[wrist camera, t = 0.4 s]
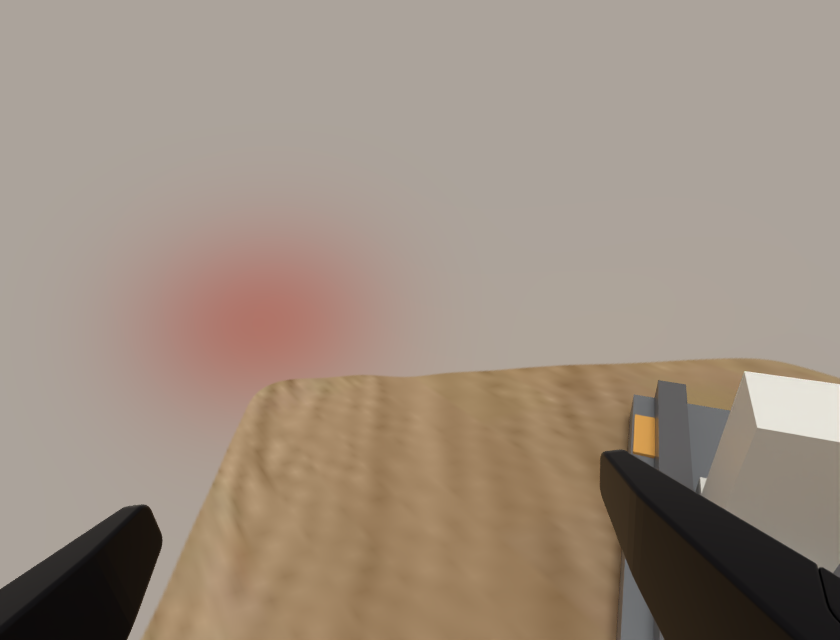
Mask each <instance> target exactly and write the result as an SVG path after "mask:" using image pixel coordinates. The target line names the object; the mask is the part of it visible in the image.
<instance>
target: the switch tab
mask: <svg viewBox="0 0 840 640" xmlns="http://www.w3.org/2000/svg"><path fill="white" fill-rule="evenodd" d="M695 492H696V493H698V494H700V495H702V496H703V497H705V498H707V499H708V500H710V501H712V502H713V503H715V504H717V505H718V506H720V507H722V508H724V509H725V510H727V511H729V512H730V513H732V514H734V515H735V516H737V517H739V518H740V519H742V520H744V521H745V522H747V523H749V524H751V525H752V526H754V527H756V528H757V529H759V530H761V531H762V532H764V533H766V534H767V535H769V536H771V537H773V538H774V539H776V540H778V541H779V542H781V543H783V544H784V545H786V546H788V547H789V548H791V549H793V550H795V551H796V552H798V553H800V554H801V555H803V556H805V557H806V558H808V559H810V560H811V561H813V562H815V563H816V564H817V565H818V568H819V567H824V568H825V569H827V570H829V571H830V572H832V573H833V572H834V571H835V570H836V568H837V567H838V565H839V564H840V384H833V383H826V382H819V381H812V380H804V379H797V378H790V377H783V376H775V375H768V374H761V373H754V372H746V371H744V374H743V377H742V379H741V382H740V385H739V388H738V391H737V394H736V397H735V399H734V402H733V405H732V408H731V411H730V414H729V417H728V419H727V422H726V425H725V428H724V431H723V434H722V437H721V440H720V442H719V445H718V448H717V451H716V454H715V457H714V460H713V462H712V465H711V468H710V471H709V474H708V477H707V478H703V477H700V479H699V482H698V485H697V487H696V490H695Z"/></svg>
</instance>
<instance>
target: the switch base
mask: <svg viewBox="0 0 840 640" xmlns="http://www.w3.org/2000/svg"><path fill="white" fill-rule="evenodd" d="M729 414H730V411H729V410H723V409H717V408H711V407H705V406H699V405H693V404H687V393H686V385H685V384H679V383H672V382H666V381H659V380H658V384H657V389H656V394H655V398H651V397H645V396H639V395H634V397H633V403H632V408H631V414H630V425H629V441H628V452H629V453H630V454H632V455H634V456H636V457H637V458H639V459H641V460H642V461H644V462H646V463H647V464H649V465H651V466H652V467H654V468H656V469H658V470H659V471H661V472H663V473H664V474H666V475H668V476H669V477H671V478H673V479H674V480H676V481H678V482H680V483H681V484H683V485H685V486H686V487H688V488H690V489H691V490H693V491H695V490H696V487H697V485H698V482H699V479H700V477H703V478H707V477H708V474H709V471H710V468H711V465H712V462H713V460H714V457H715V454H716V451H717V448H718V445H719V442H720V440H721V437H722V434H723V431H724V428H725V425H726V422H727V419H728V417H729ZM833 573H834V574H835V575H837V576H839V577H840V564H839V565H838V567H837V568H836V570H835V571H834V572H833ZM616 640H664V638H663V636H662V634H661V632H660V630H659V628H658V626H657V624H656V622H655V620H654V618H653V616H652V614H651V612H650V610H649V608H648V606H647V604H646V602H645V600H644V598H643V596H642V594H641V592H640V590H639V588H638V586H637V584H636V582H635V580H634V578H633V576H632V574H631V571H630V569H629V566H628V564H627V561H626V559H625V556H624V553H623V551H622V555H621V571H620V588H619V604H618V620H617V637H616Z"/></svg>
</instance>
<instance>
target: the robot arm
mask: <svg viewBox="0 0 840 640" xmlns="http://www.w3.org/2000/svg"><path fill="white" fill-rule="evenodd" d="M600 490H601V495H602V498H603V501H604V504H605V506H606V509H607V512H608V514H609V517H610V519H611V522H612V525H613V527H614V530H615V532H616V535H617V538H618V540H619V543H620V545H621V548H622V551H623V553H624V556H625V559H626V561H627V564H628V566H629V569H630V571H631V574H632V576H633V578H634V580H635V582H636V584H637V586H638V588H639V590H640V592H641V594H642V596H643V598H644V600H645V602H646V604H647V606H648V608H649V610H650V612H651V614H652V616H653V618H654V620H655V622H656V624H657V626H658V628H659V630H660V632H661V634H662V636H663V638H664V640H840V577H839V576H837V575H835V574H834V573H832V572H830V571H829V570H827V569H825V568H824V567H819V568H818V565H817V564H816V563H815V562H813V561H811V560H810V559H808V558H806V557H805V556H803V555H801V554H800V553H798V552H796V551H795V550H793V549H791V548H789V547H788V546H786V545H784V544H783V543H781V542H779V541H778V540H776V539H774V538H773V537H771V536H769V535H767V534H766V533H764V532H762V531H761V530H759V529H757V528H756V527H754V526H752V525H751V524H749V523H747V522H745V521H744V520H742V519H740V518H739V517H737V516H735V515H734V514H732V513H730V512H729V511H727V510H725V509H724V508H722V507H720V506H718V505H717V504H715V503H713V502H712V501H710V500H708V499H707V498H705V497H703V496H702V495H700V494H698V493H696V492H695V491H693V490H691V489H690V488H688V487H686V486H685V485H683V484H681V483H680V482H678V481H676V480H674V479H673V478H671V477H669V476H668V475H666V474H664V473H663V472H661V471H659V470H658V469H656V468H654V467H652V466H651V465H649V464H647V463H646V462H644V461H642V460H641V459H639V458H637V457H636V456H634V455H632V454H630V453H629V452H627V451H625V450H612V451H605V452H603V453H602V454H601V458H600ZM161 547H162V534H161V531H160V529H159V527H158V525H157V522H156V520H155V518H154V515H153V513H152V511H151V509H150V508H149V507H148V506H147V505H134V506H128V507H124V508H122V509H120V510H119V511H117V512H116V513H114V514H113V515H111V516H110V517H108V518H107V519H105V520H104V521H102V522H101V523H99V524H98V525H96V526H95V527H93V528H92V529H90V530H89V531H87V532H86V533H84V534H83V535H81V536H80V537H78V538H77V539H75V540H74V541H72V542H71V543H69V544H68V545H66V546H65V547H63V548H62V549H60V550H59V551H57V552H56V553H54V554H53V555H51V556H50V557H48V558H47V559H45V560H44V561H42V562H41V563H39V564H37V565H36V566H34V567H33V568H31V569H30V570H28V571H27V572H25V573H24V574H22V575H21V576H19V577H18V578H16V579H15V580H13V581H12V582H10V583H9V584H7V585H6V586H4V587H3V588H1V589H0V640H127V639H128V636H129V634H130V632H131V629H132V627H133V624H134V622H135V619H136V617H137V614H138V611H139V609H140V606H141V603H142V600H143V597H144V595H145V592H146V589H147V587H148V584H149V581H150V578H151V575H152V573H153V570H154V567H155V564H156V561H157V558H158V556H159V553H160V551H161Z"/></svg>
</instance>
